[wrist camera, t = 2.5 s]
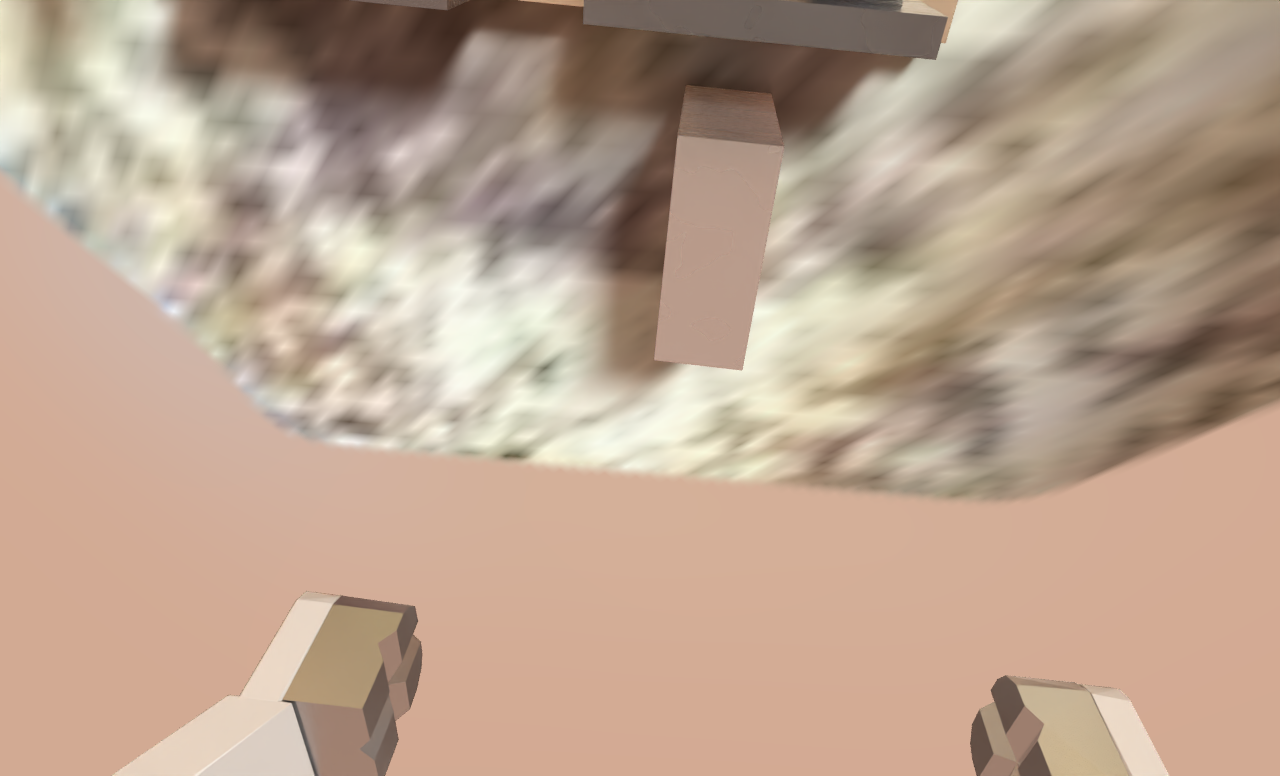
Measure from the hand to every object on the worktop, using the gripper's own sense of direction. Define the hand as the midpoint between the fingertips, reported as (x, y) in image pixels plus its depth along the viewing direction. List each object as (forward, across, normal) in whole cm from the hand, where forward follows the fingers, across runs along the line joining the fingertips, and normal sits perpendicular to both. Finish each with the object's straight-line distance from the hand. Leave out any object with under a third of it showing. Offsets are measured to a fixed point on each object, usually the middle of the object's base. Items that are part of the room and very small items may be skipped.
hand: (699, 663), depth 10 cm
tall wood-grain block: (+19, 0, 0) cm, 19 cm away
